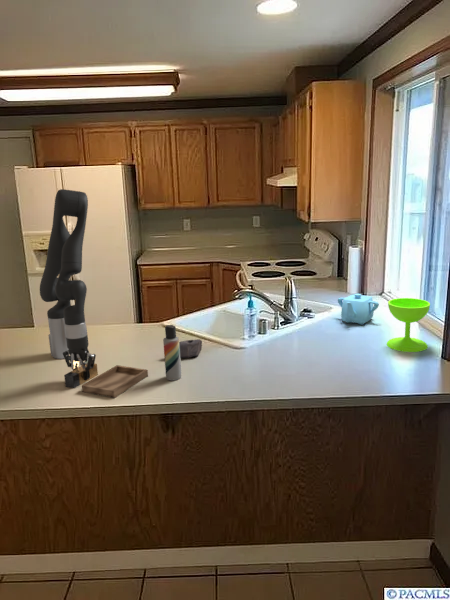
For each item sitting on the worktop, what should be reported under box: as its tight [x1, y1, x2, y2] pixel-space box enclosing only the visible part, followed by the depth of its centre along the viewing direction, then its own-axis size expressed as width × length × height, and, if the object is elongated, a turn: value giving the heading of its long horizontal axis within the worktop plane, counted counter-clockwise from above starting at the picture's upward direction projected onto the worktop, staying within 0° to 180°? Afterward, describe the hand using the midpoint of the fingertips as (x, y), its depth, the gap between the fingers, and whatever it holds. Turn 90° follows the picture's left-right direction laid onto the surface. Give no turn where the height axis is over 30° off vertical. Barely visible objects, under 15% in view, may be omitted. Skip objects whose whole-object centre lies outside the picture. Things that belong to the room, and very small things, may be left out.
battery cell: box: [64, 362, 99, 389], centre depth 188 cm, size 4×14×4 cm, turn 154°
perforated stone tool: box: [179, 338, 203, 359], centre depth 207 cm, size 15×5×7 cm, turn 96°
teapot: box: [337, 293, 380, 326], centre depth 242 cm, size 18×16×14 cm
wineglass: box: [386, 297, 431, 353], centre depth 207 cm, size 16×16×18 cm
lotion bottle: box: [162, 324, 183, 381], centre depth 185 cm, size 6×6×20 cm
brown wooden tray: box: [81, 364, 149, 399], centre depth 184 cm, size 14×20×2 cm
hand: (81, 378), depth 188 cm, fingers closed on battery cell, 4 cm apart
